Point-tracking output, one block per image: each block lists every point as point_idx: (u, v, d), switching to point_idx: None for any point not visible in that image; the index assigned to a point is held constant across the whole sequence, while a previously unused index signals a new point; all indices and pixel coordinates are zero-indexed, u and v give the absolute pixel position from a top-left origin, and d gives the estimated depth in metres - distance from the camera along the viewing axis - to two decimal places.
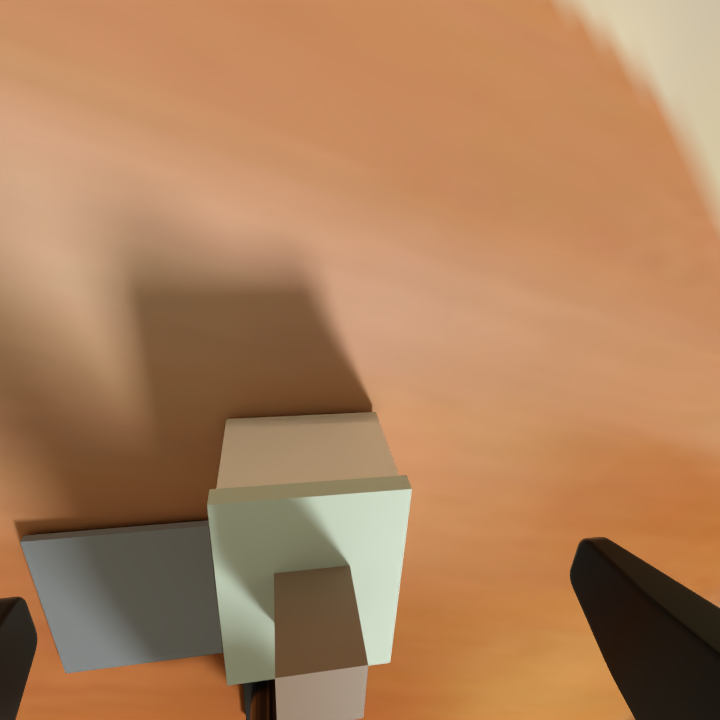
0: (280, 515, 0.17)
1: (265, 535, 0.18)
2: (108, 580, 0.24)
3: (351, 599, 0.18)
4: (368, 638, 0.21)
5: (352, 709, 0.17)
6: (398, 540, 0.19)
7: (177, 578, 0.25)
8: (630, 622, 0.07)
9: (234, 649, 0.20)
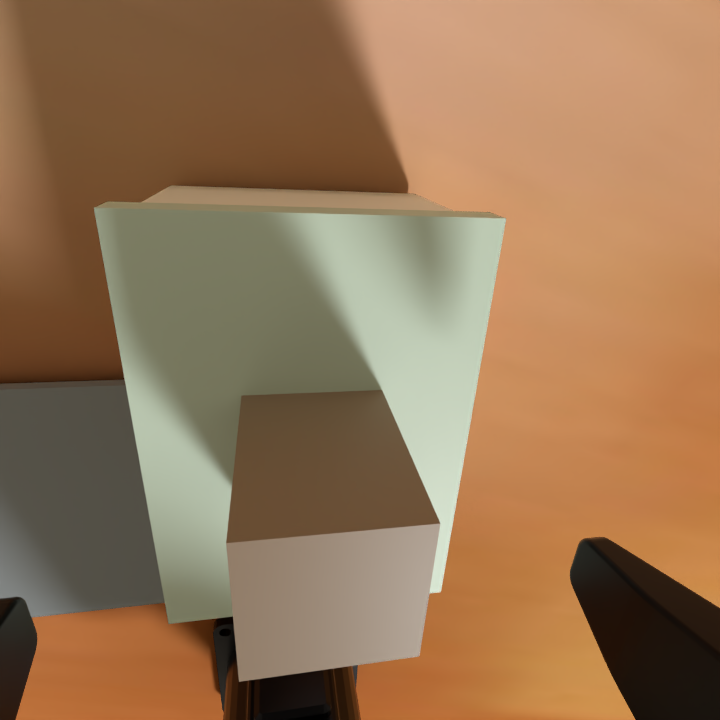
0: (250, 255, 0.09)
1: (221, 303, 0.09)
2: None
3: (390, 429, 0.09)
4: None
5: (399, 635, 0.08)
6: (472, 341, 0.10)
7: (106, 474, 0.16)
8: (630, 622, 0.07)
9: (177, 554, 0.11)
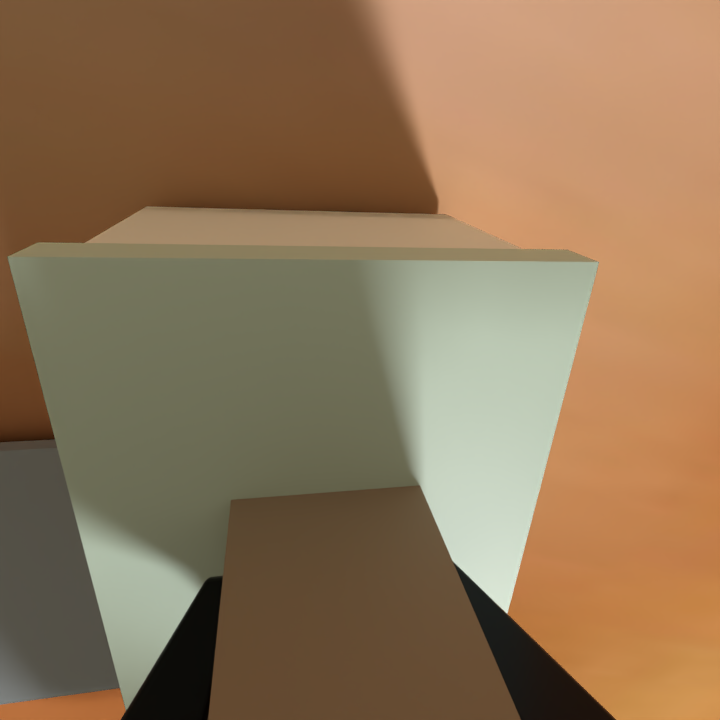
0: (241, 318, 0.06)
1: (201, 383, 0.06)
2: None
3: (439, 561, 0.06)
4: None
5: None
6: (541, 421, 0.08)
7: (74, 547, 0.14)
8: None
9: None
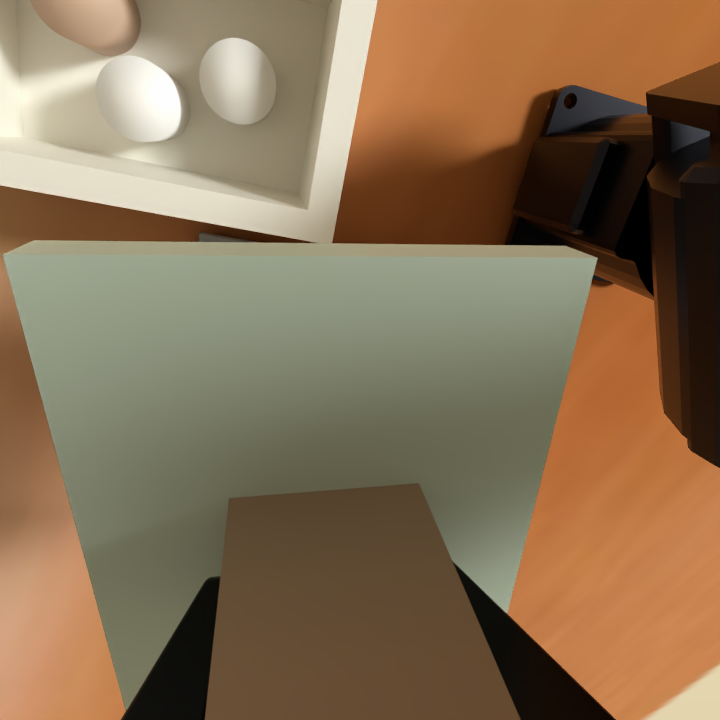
0: (238, 315, 0.06)
1: (198, 381, 0.06)
2: None
3: (438, 559, 0.06)
4: None
5: None
6: (540, 418, 0.08)
7: None
8: None
9: None
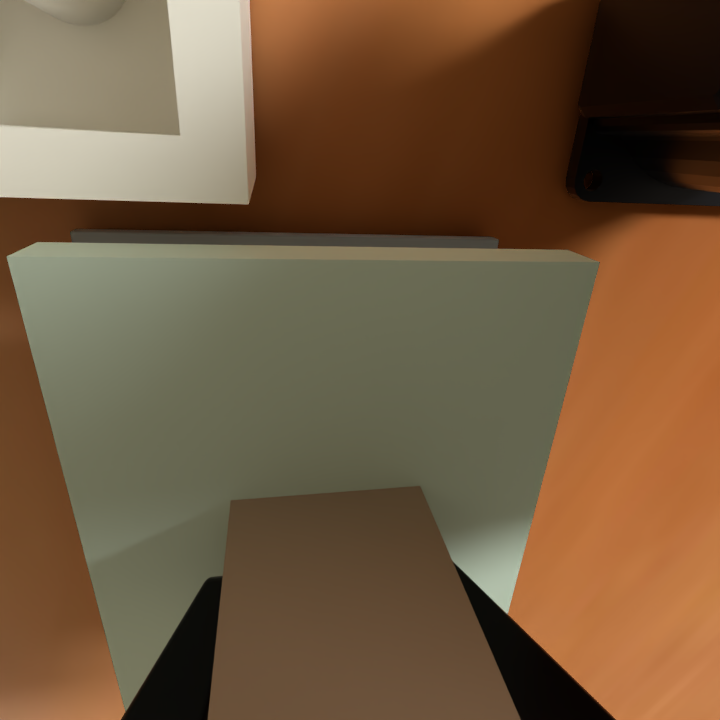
0: (241, 318, 0.06)
1: (201, 383, 0.06)
2: None
3: (439, 562, 0.06)
4: None
5: None
6: (541, 422, 0.08)
7: None
8: None
9: None
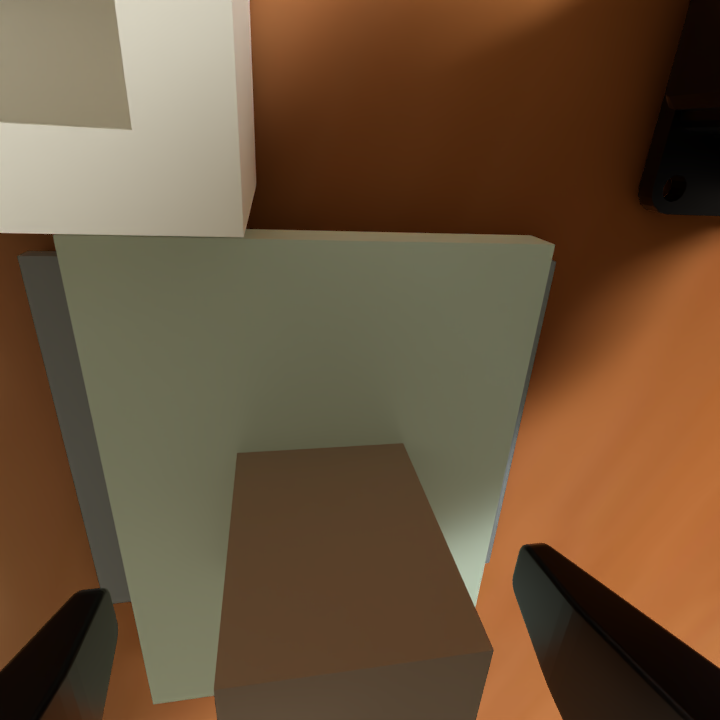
0: (247, 290, 0.07)
1: (212, 347, 0.07)
2: None
3: (416, 500, 0.07)
4: None
5: None
6: (509, 386, 0.09)
7: None
8: (562, 631, 0.07)
9: (162, 629, 0.10)
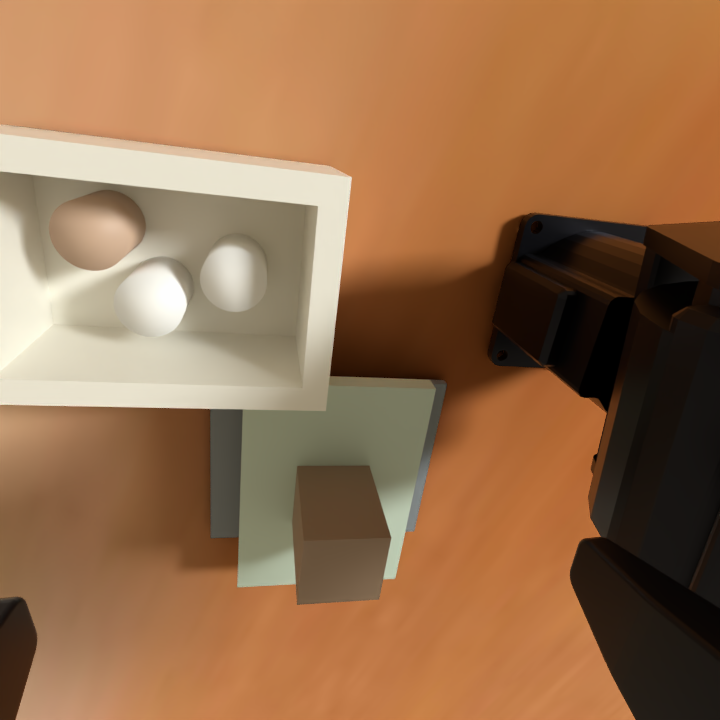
0: None
1: (294, 423, 0.18)
2: None
3: (372, 490, 0.19)
4: None
5: (370, 587, 0.17)
6: (417, 443, 0.20)
7: None
8: (630, 622, 0.07)
9: (249, 546, 0.21)
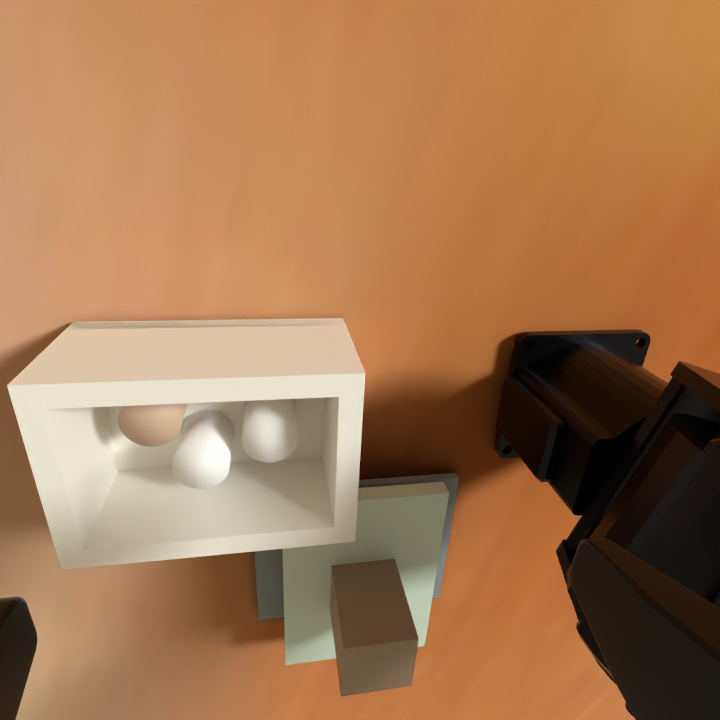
0: None
1: None
2: None
3: (399, 586, 0.21)
4: None
5: (403, 677, 0.20)
6: (436, 537, 0.22)
7: None
8: (630, 622, 0.07)
9: (294, 632, 0.23)
